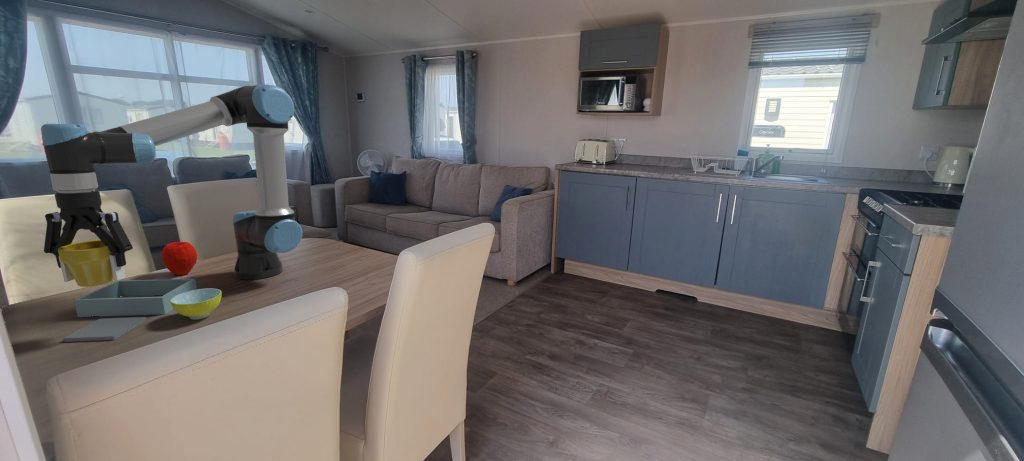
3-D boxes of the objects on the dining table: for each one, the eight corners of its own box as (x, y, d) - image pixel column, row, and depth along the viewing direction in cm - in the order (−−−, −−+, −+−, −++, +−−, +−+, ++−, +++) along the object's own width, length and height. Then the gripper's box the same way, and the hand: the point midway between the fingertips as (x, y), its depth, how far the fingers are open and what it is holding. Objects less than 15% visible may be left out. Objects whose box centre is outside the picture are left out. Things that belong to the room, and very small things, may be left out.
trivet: (146, 320, 113) (145, 317, 113) (114, 339, 103) (113, 336, 103) (100, 322, 112) (100, 318, 112) (63, 342, 101) (63, 338, 101)
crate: (197, 293, 132) (195, 278, 131) (165, 314, 117) (162, 297, 116) (121, 295, 129) (117, 280, 128) (77, 317, 114) (73, 300, 113)
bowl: (167, 328, 109) (163, 306, 108) (181, 311, 119) (177, 291, 118) (219, 321, 114) (216, 300, 112) (228, 305, 124) (225, 286, 122)
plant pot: (88, 291, 98) (79, 251, 96) (54, 287, 100) (45, 248, 98) (135, 277, 108) (128, 240, 106) (103, 274, 110) (96, 238, 108)
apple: (206, 270, 154) (202, 238, 151) (181, 279, 144) (176, 245, 141) (183, 268, 155) (178, 236, 152) (157, 277, 146) (151, 243, 143)
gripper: (141, 188, 104) (156, 273, 109) (37, 188, 101) (57, 275, 106) (118, 193, 97) (135, 283, 102) (5, 192, 94) (28, 285, 99)
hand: (95, 279), depth 104 cm, fingers closed on plant pot, 10 cm apart
